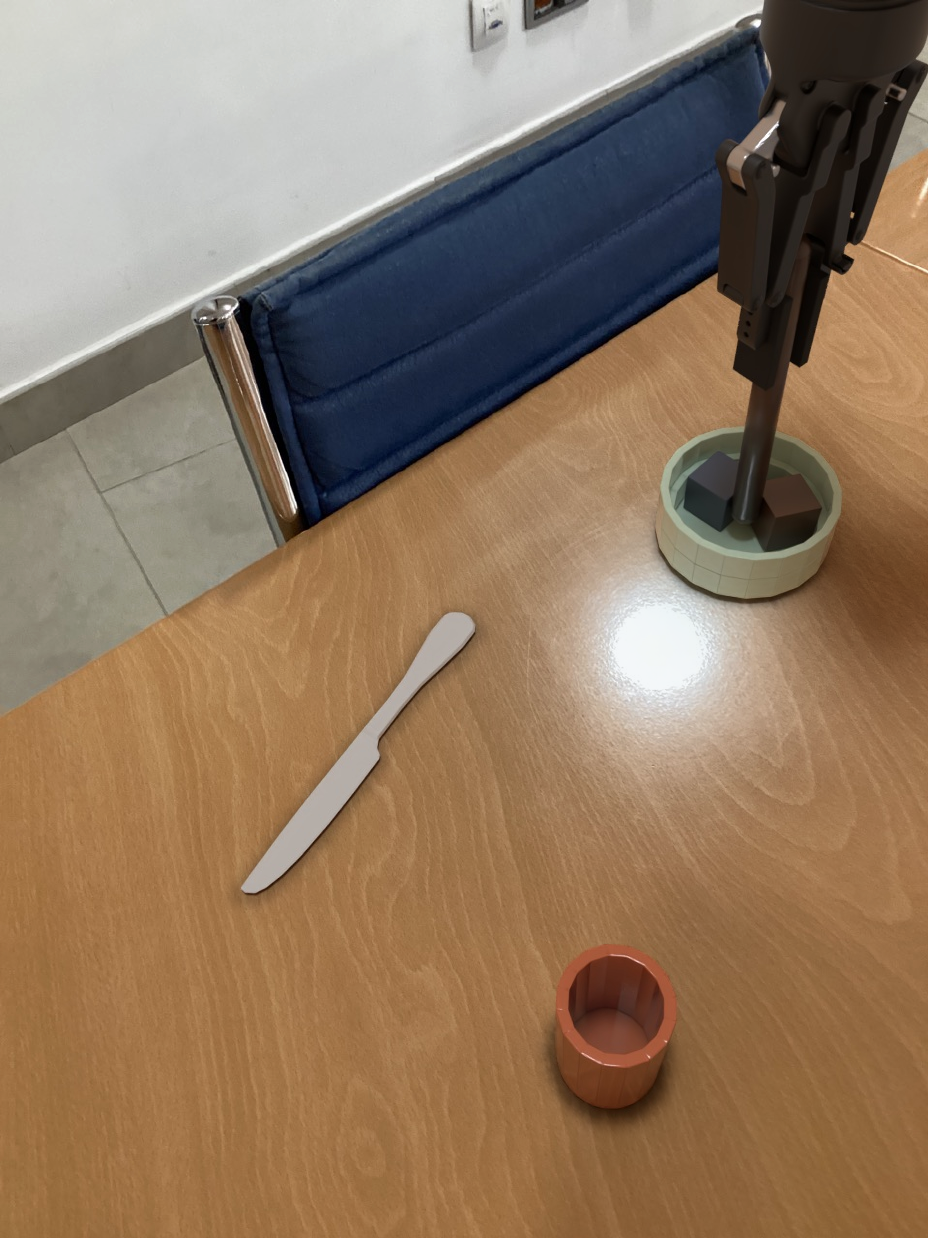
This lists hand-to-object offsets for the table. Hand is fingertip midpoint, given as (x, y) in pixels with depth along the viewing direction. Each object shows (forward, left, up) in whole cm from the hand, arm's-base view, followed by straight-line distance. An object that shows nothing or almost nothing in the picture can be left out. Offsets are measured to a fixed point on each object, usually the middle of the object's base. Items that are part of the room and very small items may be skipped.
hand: (770, 364), depth 66 cm
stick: (-1, +1, -13) cm, 13 cm away
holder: (-21, +33, -15) cm, 42 cm away
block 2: (-3, -1, -14) cm, 15 cm away
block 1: (+2, +1, -14) cm, 14 cm away
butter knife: (+3, +32, -15) cm, 35 cm away
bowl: (-1, +1, -15) cm, 15 cm away
